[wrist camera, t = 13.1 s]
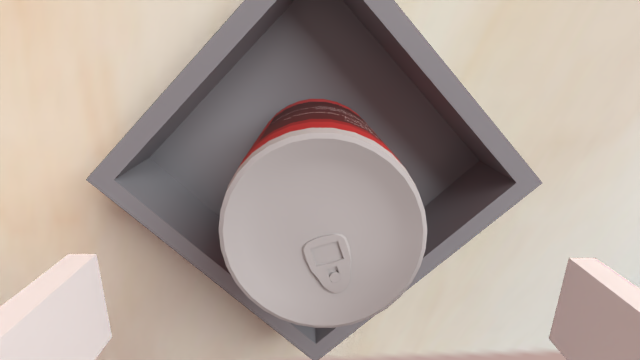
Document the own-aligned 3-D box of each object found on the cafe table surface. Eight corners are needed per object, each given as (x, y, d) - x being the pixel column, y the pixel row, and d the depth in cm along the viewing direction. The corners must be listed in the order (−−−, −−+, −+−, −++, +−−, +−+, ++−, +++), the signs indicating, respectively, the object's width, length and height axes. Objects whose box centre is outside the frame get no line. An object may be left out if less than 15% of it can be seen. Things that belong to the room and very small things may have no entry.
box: (497, 158, 24) (542, 182, 20) (314, 310, 28) (315, 362, 23) (319, -54, 20) (322, -88, 16) (130, 155, 24) (85, 179, 19)
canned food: (302, 236, 25) (297, 360, 15) (232, 140, 23) (168, 208, 13) (399, 178, 24) (467, 269, 14) (335, 71, 22) (358, 84, 12)
